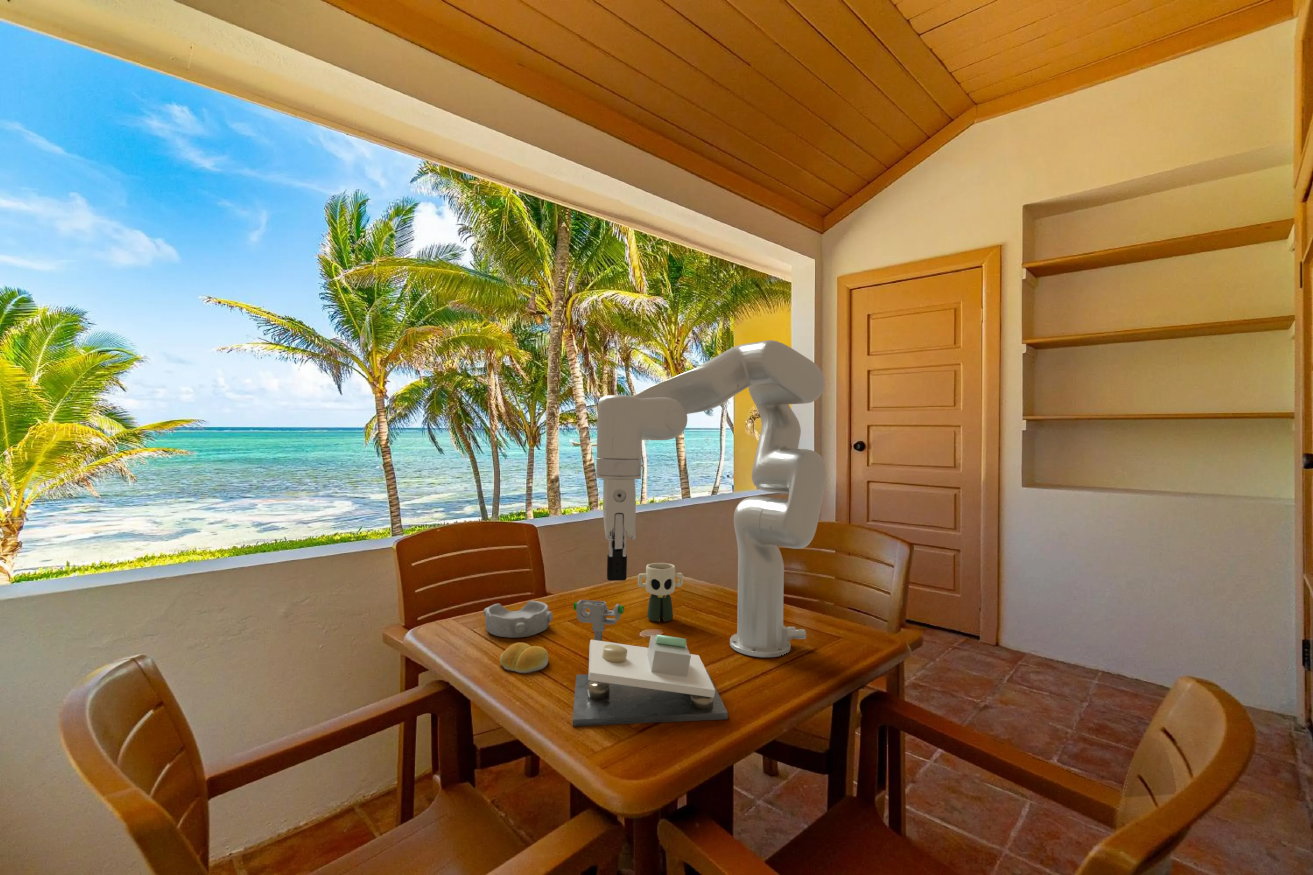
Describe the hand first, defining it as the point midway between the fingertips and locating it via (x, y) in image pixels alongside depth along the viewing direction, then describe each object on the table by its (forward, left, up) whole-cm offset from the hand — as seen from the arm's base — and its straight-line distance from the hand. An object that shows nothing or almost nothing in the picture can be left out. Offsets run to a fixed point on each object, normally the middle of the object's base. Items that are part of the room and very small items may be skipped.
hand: (616, 579), depth 92 cm
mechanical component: (+3, -21, -20) cm, 30 cm away
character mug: (-12, -40, -20) cm, 47 cm away
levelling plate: (-5, 0, -15) cm, 16 cm away
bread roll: (+17, -16, -21) cm, 31 cm away
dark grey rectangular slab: (-5, 0, -20) cm, 21 cm away
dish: (+21, -36, -21) cm, 47 cm away
